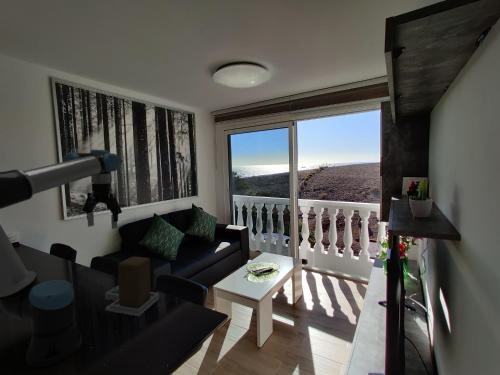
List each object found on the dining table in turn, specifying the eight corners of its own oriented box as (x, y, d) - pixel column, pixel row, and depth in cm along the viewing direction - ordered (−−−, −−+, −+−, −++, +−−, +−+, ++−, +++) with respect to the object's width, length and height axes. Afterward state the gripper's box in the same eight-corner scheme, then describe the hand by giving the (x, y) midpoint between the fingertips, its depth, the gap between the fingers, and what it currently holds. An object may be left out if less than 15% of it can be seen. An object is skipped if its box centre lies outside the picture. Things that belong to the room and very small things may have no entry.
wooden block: (138, 309, 110) (137, 265, 109) (118, 306, 112) (117, 263, 111) (151, 297, 120) (150, 257, 118) (133, 295, 122) (132, 255, 120)
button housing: (119, 301, 118) (119, 295, 118) (105, 299, 120) (104, 293, 120) (131, 293, 126) (130, 287, 126) (117, 291, 128) (117, 285, 128)
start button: (118, 297, 121) (118, 290, 120) (111, 296, 122) (111, 289, 121) (124, 293, 125) (124, 286, 124) (117, 292, 126) (117, 285, 125)
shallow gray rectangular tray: (138, 316, 107) (138, 310, 107) (105, 310, 111) (105, 304, 111) (159, 298, 122) (159, 293, 122) (129, 293, 126) (129, 288, 126)
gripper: (129, 183, 119) (130, 227, 120) (86, 181, 125) (88, 223, 126) (117, 184, 111) (118, 231, 113) (72, 182, 117) (74, 227, 119)
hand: (102, 227), depth 120 cm, fingers open, 13 cm apart
